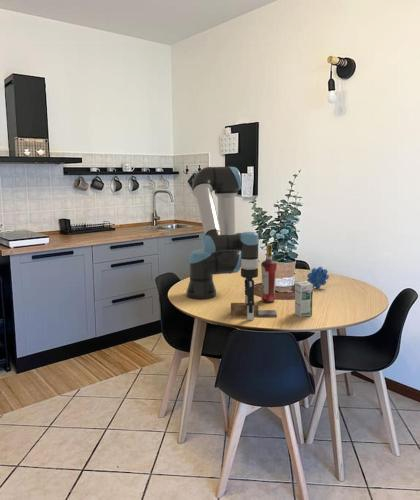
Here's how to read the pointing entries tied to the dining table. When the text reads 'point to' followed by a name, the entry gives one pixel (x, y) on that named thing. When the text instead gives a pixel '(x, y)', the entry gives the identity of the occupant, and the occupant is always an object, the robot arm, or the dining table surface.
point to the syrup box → (303, 298)
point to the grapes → (318, 277)
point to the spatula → (241, 310)
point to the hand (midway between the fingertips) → (249, 314)
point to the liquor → (268, 276)
